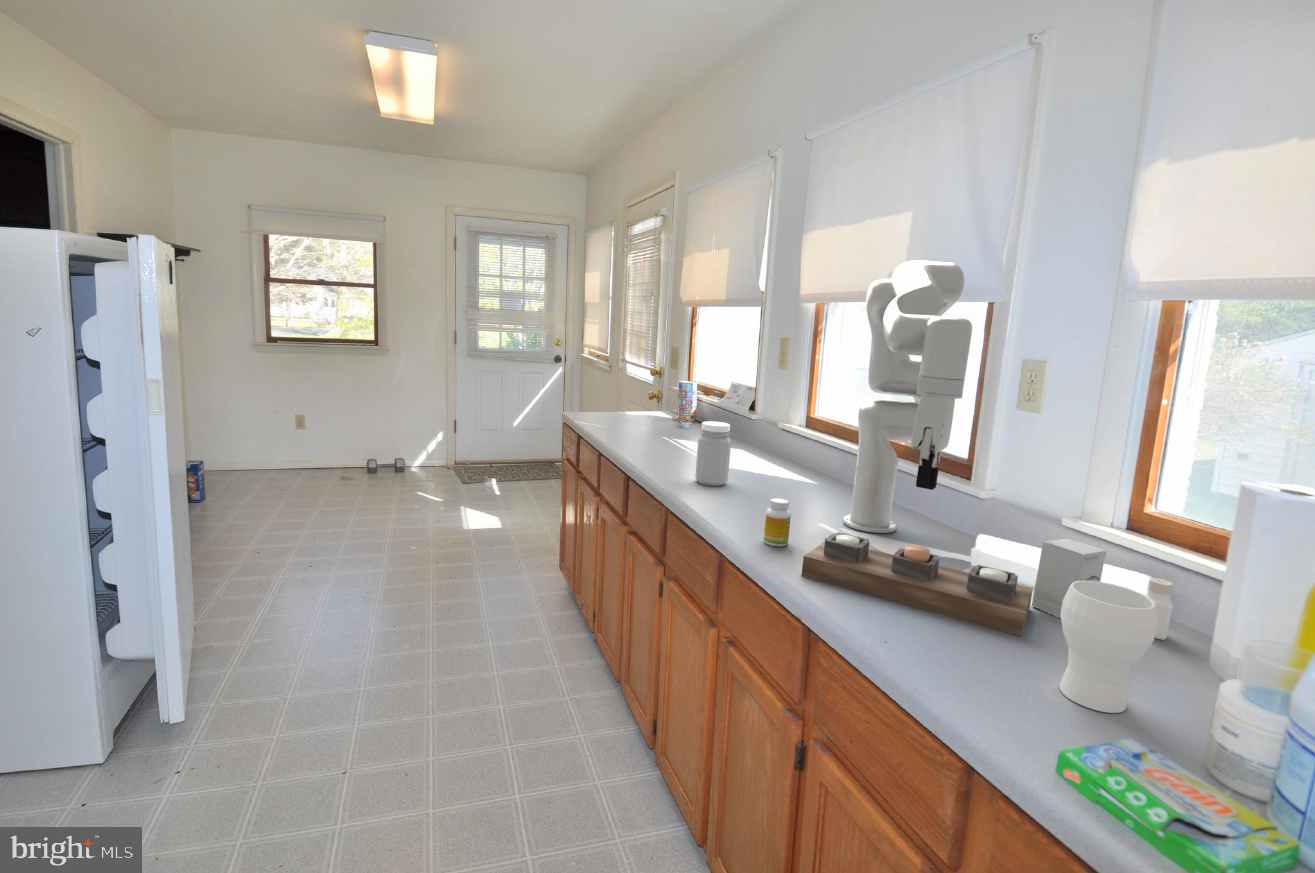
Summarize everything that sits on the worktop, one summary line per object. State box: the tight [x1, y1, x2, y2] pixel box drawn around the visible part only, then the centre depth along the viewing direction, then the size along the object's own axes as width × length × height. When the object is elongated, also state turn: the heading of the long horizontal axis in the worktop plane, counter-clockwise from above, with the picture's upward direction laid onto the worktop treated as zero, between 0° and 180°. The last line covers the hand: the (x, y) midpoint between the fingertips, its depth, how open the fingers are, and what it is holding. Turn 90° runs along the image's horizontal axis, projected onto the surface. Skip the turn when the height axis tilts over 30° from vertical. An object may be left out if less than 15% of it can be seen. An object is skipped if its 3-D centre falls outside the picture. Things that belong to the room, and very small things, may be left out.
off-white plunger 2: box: [979, 567, 1008, 582], centre depth 118 cm, size 4×4×3 cm
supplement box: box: [1031, 538, 1107, 620], centre depth 120 cm, size 7×7×13 cm
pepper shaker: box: [1144, 577, 1174, 641], centre depth 113 cm, size 4×4×10 cm
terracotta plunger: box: [903, 544, 931, 563], centre depth 125 cm, size 4×4×3 cm
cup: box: [1059, 581, 1157, 714], centre depth 91 cm, size 11×11×15 cm
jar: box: [694, 420, 732, 487], centre depth 200 cm, size 10×10×18 cm
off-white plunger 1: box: [836, 534, 859, 546], centre depth 132 cm, size 4×4×3 cm
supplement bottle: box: [763, 497, 792, 547], centre depth 148 cm, size 5×5×10 cm
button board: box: [800, 531, 1034, 637], centre depth 125 cm, size 14×38×7 cm, turn 57°
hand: (925, 487), depth 123 cm, fingers closed
